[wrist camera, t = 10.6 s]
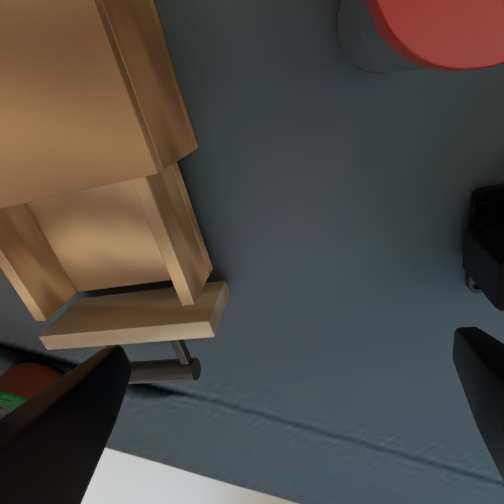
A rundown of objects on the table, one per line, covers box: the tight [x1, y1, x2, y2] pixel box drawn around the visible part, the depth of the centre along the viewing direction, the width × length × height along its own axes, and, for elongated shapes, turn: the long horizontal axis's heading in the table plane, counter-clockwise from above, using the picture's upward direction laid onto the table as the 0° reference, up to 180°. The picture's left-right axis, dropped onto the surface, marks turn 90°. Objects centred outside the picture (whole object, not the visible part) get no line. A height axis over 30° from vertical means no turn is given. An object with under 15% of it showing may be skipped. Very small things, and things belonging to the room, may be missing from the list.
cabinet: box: [0, 0, 198, 209], centre depth 15 cm, size 13×13×6 cm
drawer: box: [0, 162, 230, 384], centre depth 20 cm, size 17×12×4 cm
